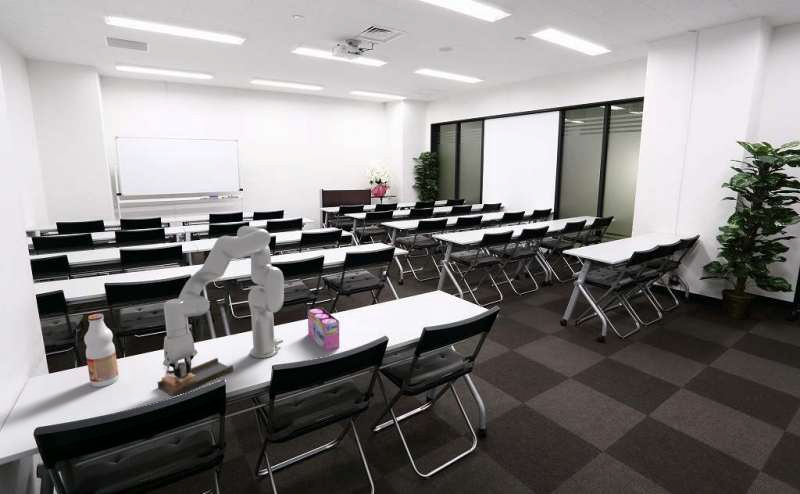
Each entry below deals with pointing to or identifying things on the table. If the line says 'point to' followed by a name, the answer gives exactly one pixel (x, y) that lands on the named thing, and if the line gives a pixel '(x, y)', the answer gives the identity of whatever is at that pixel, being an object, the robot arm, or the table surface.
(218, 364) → the slide track
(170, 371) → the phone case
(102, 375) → the fruit juice
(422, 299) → the table surface
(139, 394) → the table surface
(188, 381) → the oak slider
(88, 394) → the table surface
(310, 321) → the pink multipack carton
